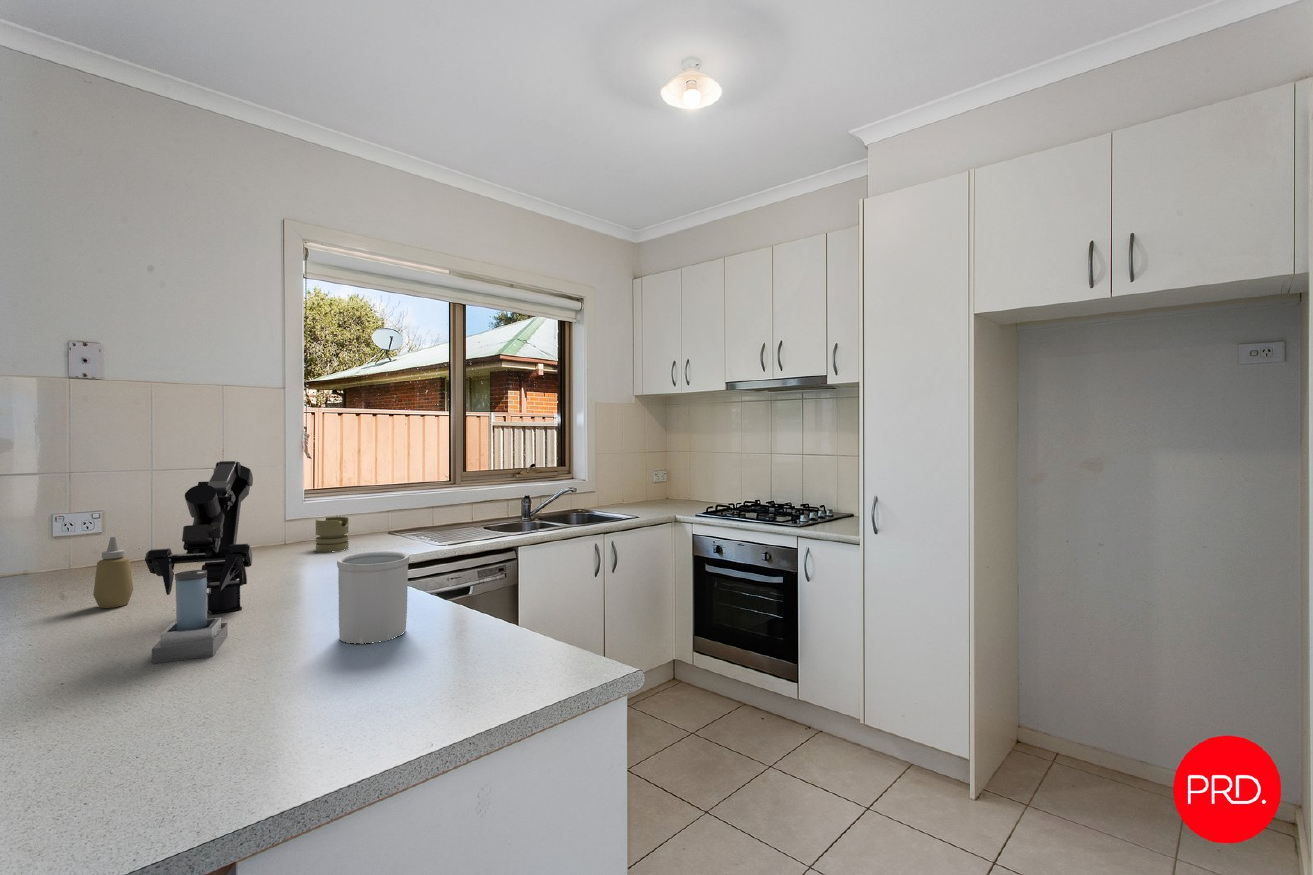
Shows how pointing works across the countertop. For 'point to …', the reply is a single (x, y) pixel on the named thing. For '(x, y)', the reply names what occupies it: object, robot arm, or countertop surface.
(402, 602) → the utensil holder
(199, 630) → the gray rectangular open-top holder
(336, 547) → the piston
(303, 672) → the countertop surface
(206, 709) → the countertop surface
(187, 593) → the capped blue cylinder
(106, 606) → the squeeze bottle
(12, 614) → the countertop surface
